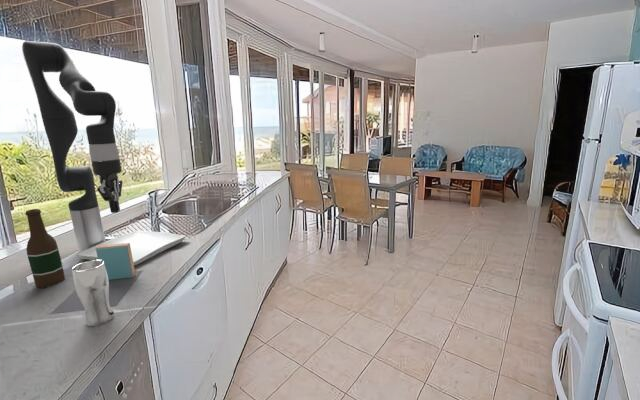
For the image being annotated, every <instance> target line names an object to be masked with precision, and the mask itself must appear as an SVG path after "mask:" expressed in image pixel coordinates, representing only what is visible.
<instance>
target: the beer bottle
mask: <svg viewBox="0 0 640 400" xmlns="http://www.w3.org/2000/svg"><path fill="white" fill-rule="evenodd" d="M41 213H42V211H41V209H39V208H33V209H29V210H26V211H25V216H26V217H27V222H28V228H29V239H28V241H27V245H26V255H27V259H28V263H29V266H30V267H29V268H30V269H31V270H30V271H31V274H32V277H33V281H34V284H35V288H37V289H46V288H47V287H51V286H53V285H58V284H60V283H61V282H63V281H64V280H65V279H66V277H65V270H64V267H63V263H62V258H61V256H60V254H61V253H60V250H59V247H58V243H57V241H56V239H55V238H54V237H53V236H52V235H50V234H49V233H48V231H47V229H46V227H45V224H44V221H43V217H42V215H41Z"/></svg>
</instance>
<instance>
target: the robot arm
mask: <svg viewBox="0 0 640 400" xmlns="http://www.w3.org/2000/svg"><path fill="white" fill-rule="evenodd" d="M21 50H22V55H23V60H24V62H25V65H26V68H27V70H28V71H27V72H28V74H29V76H30V80H31V83H32V85H33V88H34V92H35V96H36V98H37V103H38V106H39V111H40V116H41V120H42V124H43V127H44V130H45V133H46V137H47V139H48V144H49V146H50V150H51V154H52V159H53V165H54V170H55V174H56V180H57V184H58V186H59V188H60V191H62V192H64V193H70V192H72V193H73V192H81V191H84V192H85V193H84V194H83V195H81V196H79V197H78V198H75V199H73V200H71V201H70V202H68V210H69V213H70V217H71V223H72V227H73V231H74V235H75V240H76V244H77V249H78V253H80V252H82V251H84V250H87V249H89V248H91V247H94V246H96V245H99V244H101V243H103V242H106V240H107V239H106V236H105V231H104V226H103V222H102V216H101V212H100V207H99V202H98V197H97V192H98V194H100V197H101V198H102V199H103V200H104V202H108V204H109V209H110V212H111V213H113V214H115V213H119V212H120V211H121V207H120V203H119V200H120V198H121V196H122V189H123V181H122V179H121V180H120V179H119V176H118V174H121V173H122V171H123V169H122V163H121V159H120V154H119V149H118V145H117V142H116V136H115V131H114V128H115V127H114V125H115V116H116V111H117V109H116V108H117V105H116V104H117V103H116V100H115V98H114V96H113V95H112V94H111V93H109V92H108V91H98V90H97V89H96V87H95V86H94V85H93V84H92V83H91V82H90V81H89V79H87V78H86V77H85V76H84V75H83V74H82V73H81V72H80V70H79V68H78V67H77V65H76V63H74V60H72V58H71V56H70V55H69V53H68V52H67V50H65V48H64V47H63V46H62V45H60V44H58V43H55V42H47V41H36V40H35V41H33V40H26V41H24V42H22V45H21ZM44 73H59V76H58V80H59V84H60V87H61V88H62V89H63V90H64V91H65V93H67V94H68V95H69V96H70V99H71V101H72V105H73V108H74V110H75V111H76V113H78V114H80V115H82V116H86V117H87V116H91V117H92V116H93V117H94V116H96V117H97V116H100V120H99V121H98V122H97V123H96V122H95V123H91V124H88V125H87V126H86V127H85V131H86V132H85V133H86V138H87V142H88V147H89V149H88V151H89V157H90V162H91V166H92V168H91V167H90V166H89V165H80V166H79V165H78V166H77V165H76V166H67V164H66V163H67V162H66V161H67V157H68V153H69V152H70V149H71V147H72V145H73V144H74V141H75V140H76V138H77V135H78V133H79V132H78V131H79V129H78V126H77V125H78V124H77V120H76V116H75V113H74V111H73V109H72V108H71V107H70V106H69V105H68V104H67V103H66V101H65V100H64V99H62V98H61V97H60V96H59V95H58V94H57V93H56V92H55V90H54V89H53V88H52V87H51V86H50V83H48V81H47V79H46V77H45V74H44ZM96 90H97V91H96ZM94 175H95V176H99V182H100V183H99V184H100V187H99V186H98V187H97V188H96V187H95V178H94ZM96 189H97V192H96Z"/></svg>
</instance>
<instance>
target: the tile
mask: <svg viewBox="0 0 640 400" xmlns="http://www.w3.org/2000/svg"><path fill="white" fill-rule="evenodd" d="M96 252H97V257H98V260H103V261H104V264H105V267H106V270H107V274H108V279H109V280H113V279H122V278H132V277H134V276H135V275H136V274H135V271H136V269H135V266H134V263H133V258H132V253H131V247H130V243H122V244H111V245H100V246H97V247H96Z"/></svg>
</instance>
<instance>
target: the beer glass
mask: <svg viewBox="0 0 640 400" xmlns="http://www.w3.org/2000/svg"><path fill="white" fill-rule="evenodd" d="M71 274H72V281H73V286H74V289H75V290H76V293H77V295H78V297H79V299H80V301H81V303H82V305H83V307H84V310H83V311H84V314H85V319H84V321H85V326H87V327H98V326H101V325H105V324H107V323H108V322H110V321H111V320H112V319H113V318H114V316H115V314H114V312H113V308H112V307H110V303H109V279H108V274H107V270H106V267H105V264H104V261H103V260H86V261H83V262H80V263H77V264H75V265H74V266H73V267H72V268H71ZM75 290H74V291H75Z"/></svg>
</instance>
